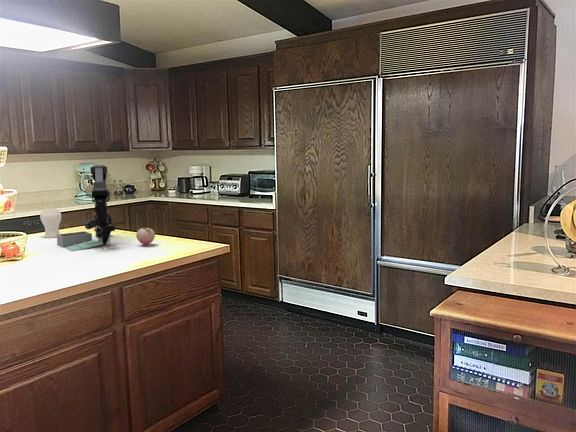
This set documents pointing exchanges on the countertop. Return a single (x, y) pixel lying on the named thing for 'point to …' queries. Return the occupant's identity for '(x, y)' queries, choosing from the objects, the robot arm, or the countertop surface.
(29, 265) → the countertop surface
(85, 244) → the lid
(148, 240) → the decorative fruit
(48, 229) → the cup
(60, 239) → the tub
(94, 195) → the robot arm
